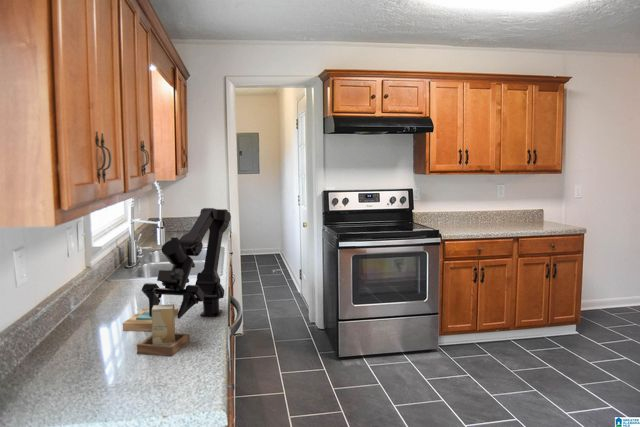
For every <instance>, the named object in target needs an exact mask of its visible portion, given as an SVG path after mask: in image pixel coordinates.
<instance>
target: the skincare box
mask: <svg viewBox="0 0 640 427" xmlns="http://www.w3.org/2000/svg"><path fill="white" fill-rule="evenodd" d="M174 308H175V304H159V305H154V306H153V307H152V331H151V333H152V334H151V336H152V338H153V345H163V346H170V345H172V344H173V343H175V333H176V322H175V321H176V317H175V310H174Z"/></svg>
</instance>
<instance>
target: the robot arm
mask: <svg viewBox="0 0 640 427" xmlns="http://www.w3.org/2000/svg"><path fill="white" fill-rule="evenodd" d="M231 216H232V215H231V213H230V212H229V210H228V209H226V208H224V209H223V208H221V209H220V208H219V209H218V208H214V207H204V208H201V209H200V213H199V215H198V217H197V219H196V220H195V222H194V224H193V226H192V227H191V228H190V230H189V232H187V233H185V234H183V235H182V236H181V237H180V238H179V237H176V236H175V237H171V239H170V240H167V241H166V242H165V243H164V244H163V245H162V246H161V253H162V255H163V256H164V257H165V259H166V260H167V261H168V263H170V264H172V267H171V270H170V269H169V270H167V269H166V270H164V269H163V270H162V269H161V270H160V269H159V270H158V274H157V279H156V281H157V282H161V285H162V286H163V287H160V286H158V284H157V283H153V282H152V283H151V282H150V283H149V282H145V283H144V284H143V286H142V287H141V290H140V291H141V292H142V293H143V294H144V295H145V296H146V297H147V299H148V307H149V316H150V317H152V307H153V306H154V305H160V302H161V298H162V296H164V295H167V296H169V295H170V296H182V302H181V303H180V307H179V308H178V315H177V316H176V317H177V319H178V320H180V319H181V318H182V317H183V316H184V315H185V314H186V313H187V312H188V311H189V310H191V308H192V307H193V306H195V305H196V304H197V305H198V304H199V302H200V303H201V302H202V312H201V313H200V314H199V316H200V317H218V316H220V314H221V313H222V312H223V309H220V299H224V296H225V289H224V286H222V284H221V278H220V275H219V273H218V267H219V263H220V262H219V260H220V256H221V255H220V253H221V247H222V242H223V234H224V232H226V230H227V229H228V228H229V225H230V222H231V219H232V217H231ZM208 230H209V232H208ZM207 232H208V239H207V245H206V252H205V257H204V258H205V259H204V265H203V269H202V271H201V272H198V273H197V274H196V281H195V284H189V282H190V279H189V276H190V274H191V271H192V269H193V268H195V267H196V264H195V262H194V259H192V257H198V256H199V255H200V254H201V252H202V250H203V246H204V244H203V239H204V238H205V236H206V234H207Z"/></svg>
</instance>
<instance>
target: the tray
mask: <svg viewBox="0 0 640 427" xmlns="http://www.w3.org/2000/svg"><path fill="white" fill-rule="evenodd" d="M190 341H191V339H190V334H189V333H176V332H175V343H173V344H172V345H170V346H163V345H153V338H152V335H150V336H148V337H147V338H145V339H144V340H142V341H141V342H139V343H137V344H136V353H137V354H142V355H143V354H144V355H156V356H168V357H169V356H171V357H172V356H174V355H175V354H176V353H178V352H179V351H180V350H181V349H183V348H185V346H187V345H188V344H189V343H190Z"/></svg>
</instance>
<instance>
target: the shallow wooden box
mask: <svg viewBox="0 0 640 427" xmlns="http://www.w3.org/2000/svg"><path fill="white" fill-rule="evenodd" d="M174 310H175V318H176V317H177V316H178V312H179V307H174ZM122 330H123V331H130V332H132V331H133V332H135V331H136V332H137V331H139V332H152V317H150V316H149V306H146V307H145V308H143V309H141V310H140V311H139V312H137V313H136V314H134V315H132V316H131V317H130V318H128V319H127V320H125V321H124V322H122Z"/></svg>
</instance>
